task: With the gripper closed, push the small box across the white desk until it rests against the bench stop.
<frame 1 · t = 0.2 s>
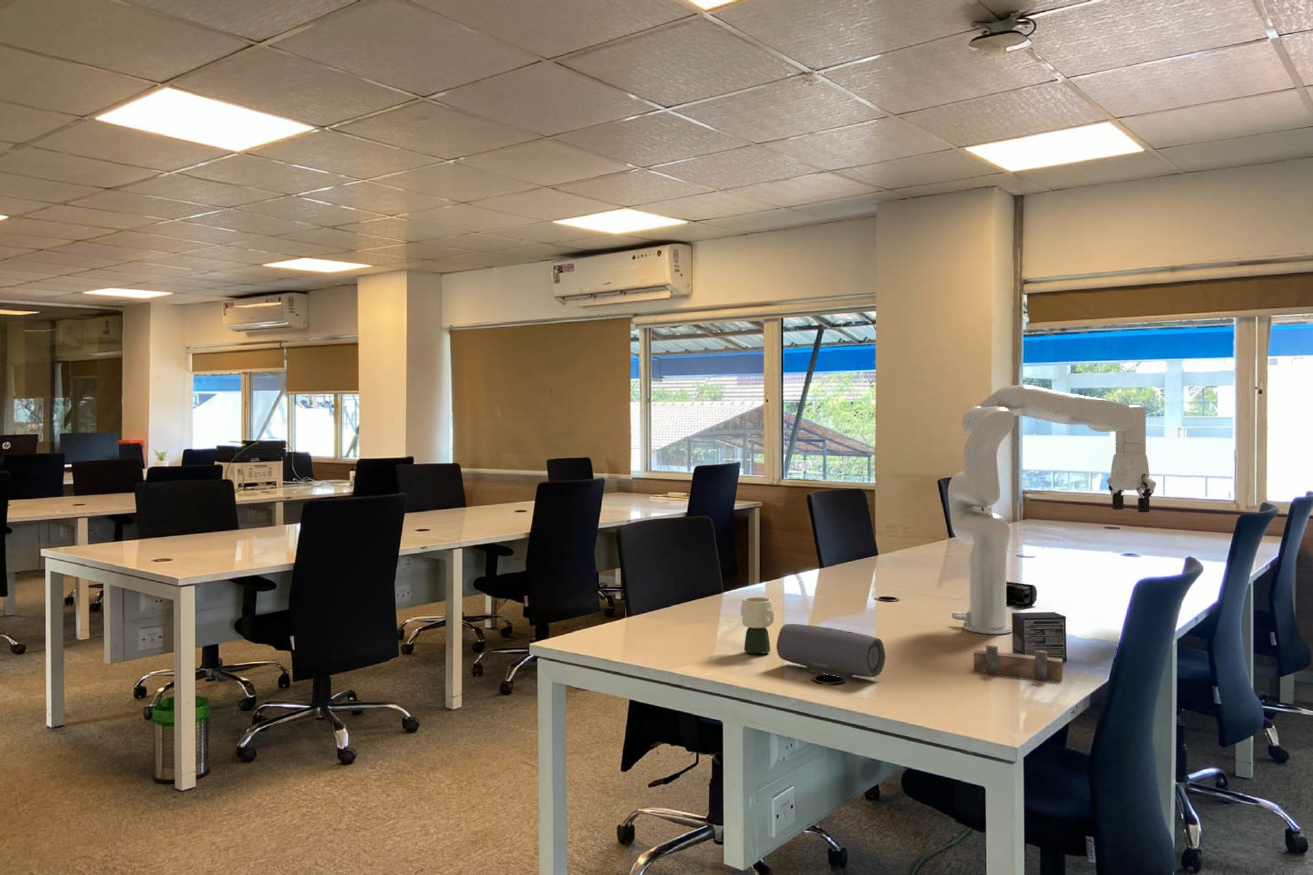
hand: (1130, 510, 254), 31 cm above the table, tool pointing down, fingers open, 9 cm apart
character mug: (757, 653, 219), on the table
bluetooth speaker: (829, 674, 201), on the table
bench stop: (1017, 673, 200), on the table
small box: (1039, 659, 213), on the table
end cap: (1016, 605, 279), on the table
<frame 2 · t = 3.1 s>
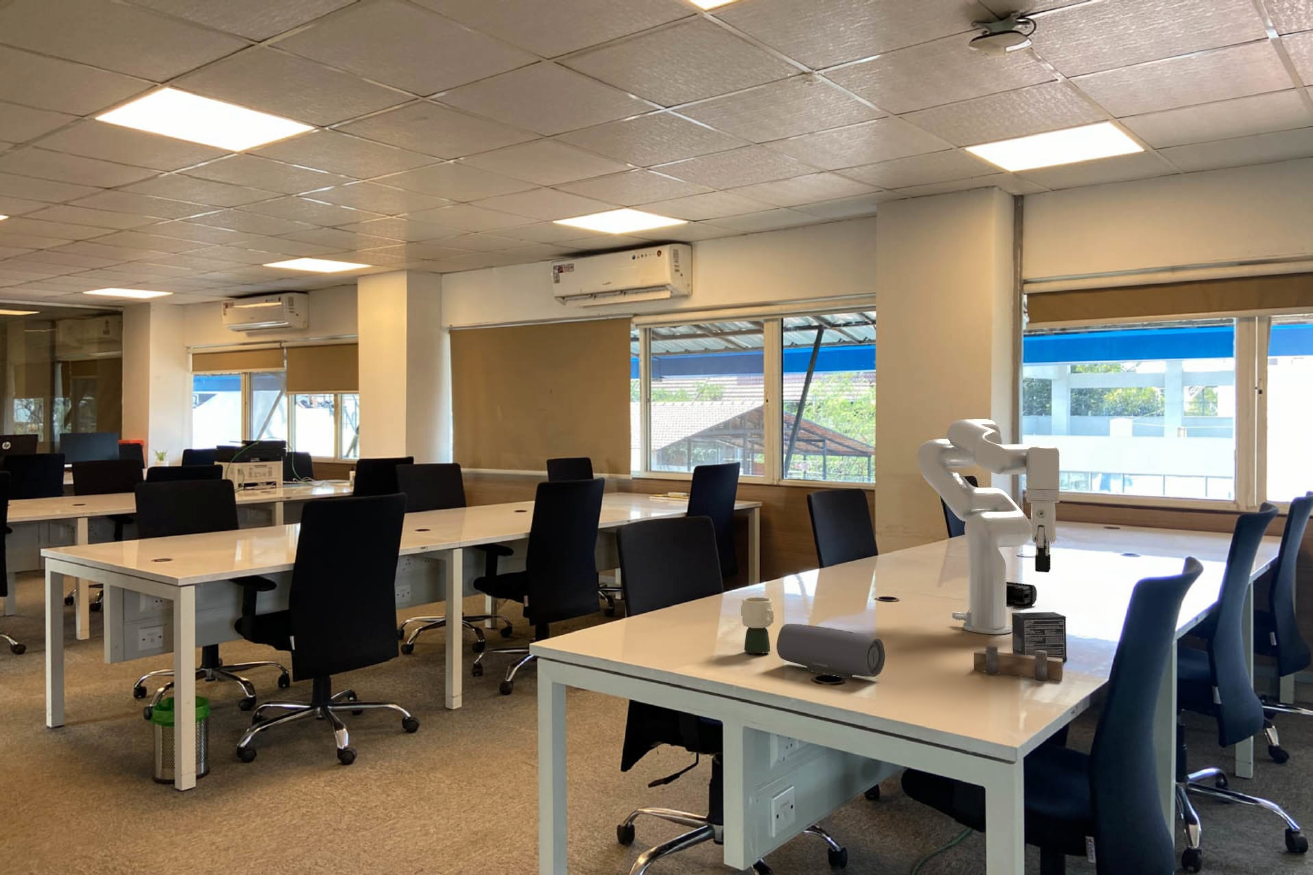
hand: (1042, 570, 223), 19 cm above the table, tool pointing down, fingers closed
nothing on the table moved.
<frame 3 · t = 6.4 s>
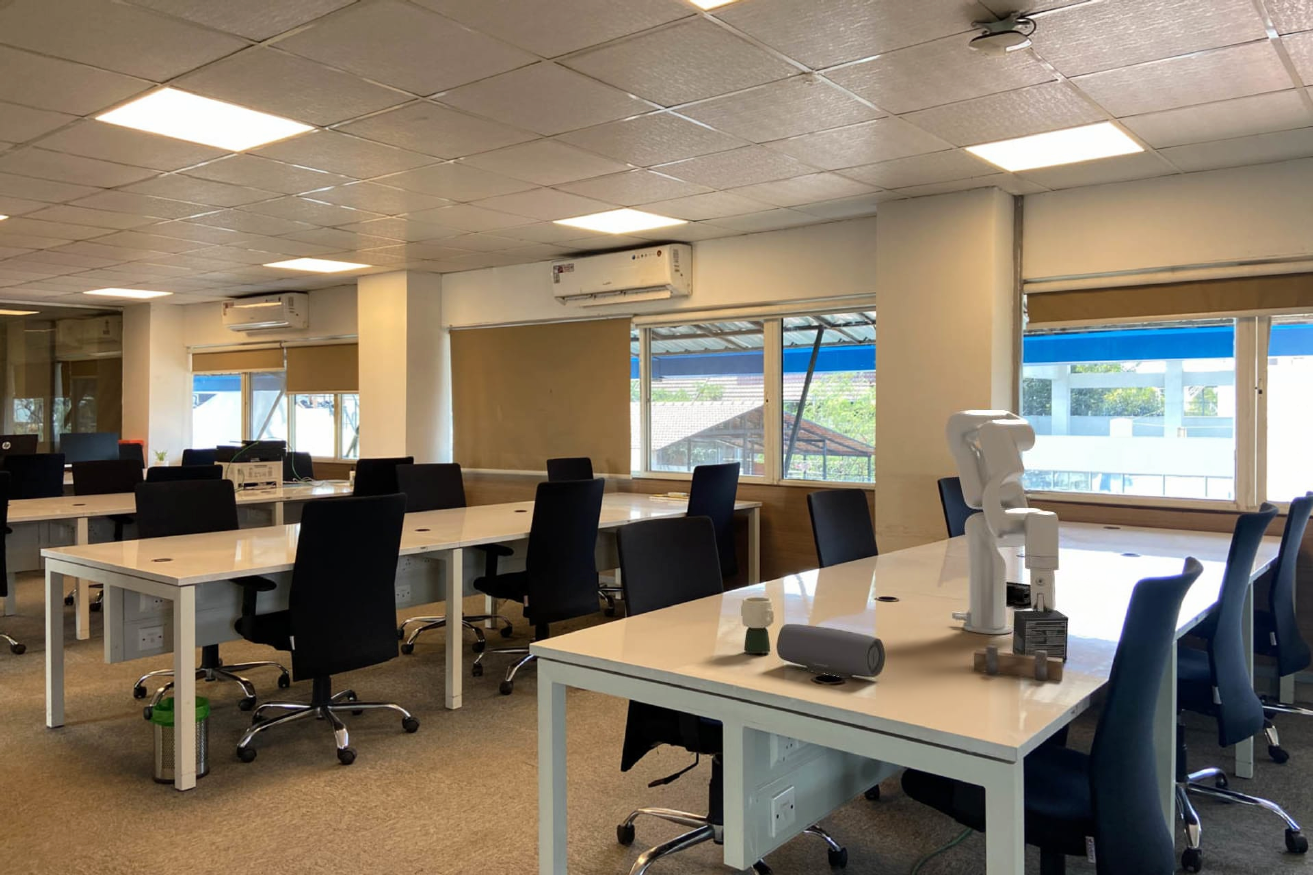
hand: (1042, 638, 218), 3 cm above the table, tool pointing down, fingers closed
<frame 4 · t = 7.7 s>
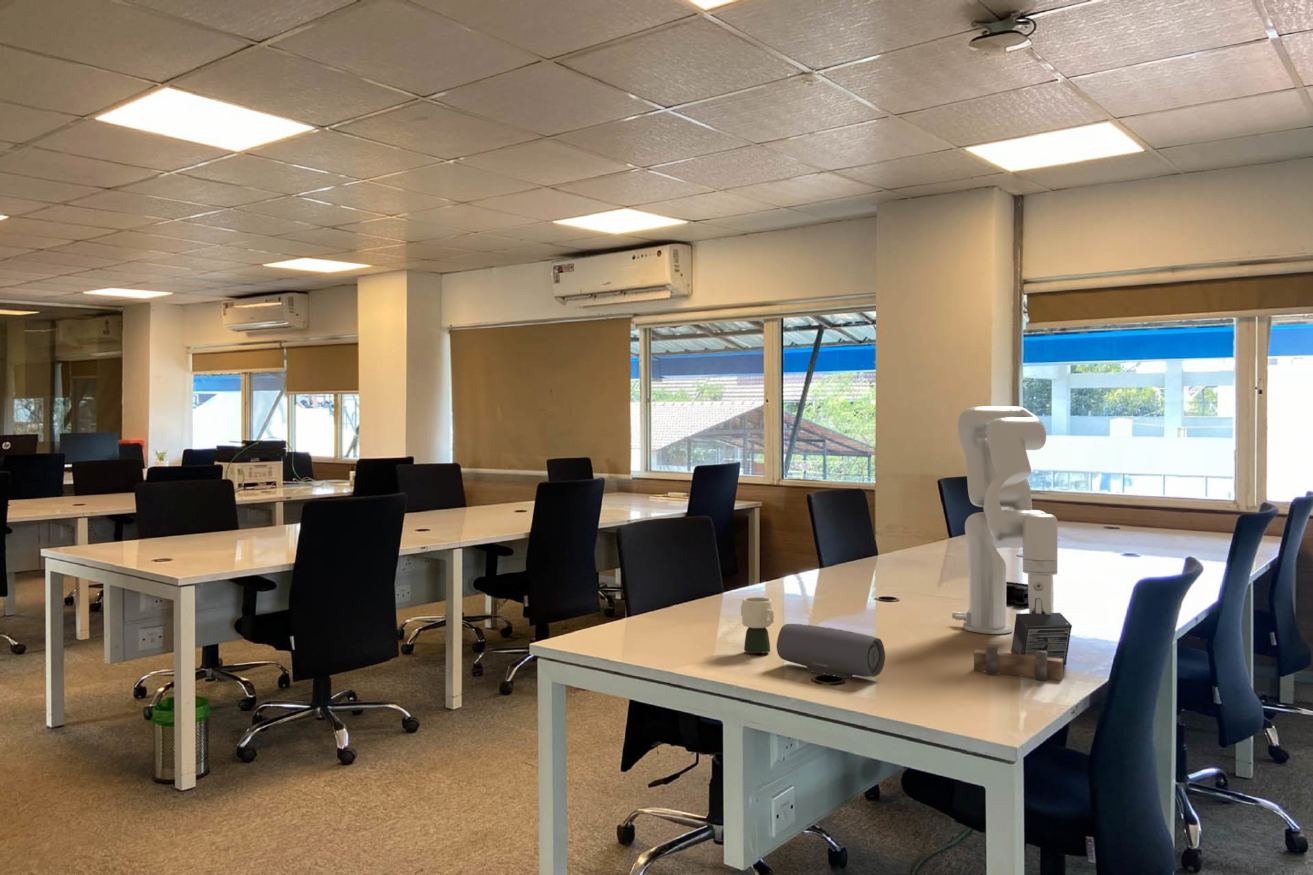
hand: (1039, 644, 212), 3 cm above the table, tool pointing down, fingers closed
small box: (1037, 659, 209), point 1 cm above the table, touching gripper
everything else where it was.
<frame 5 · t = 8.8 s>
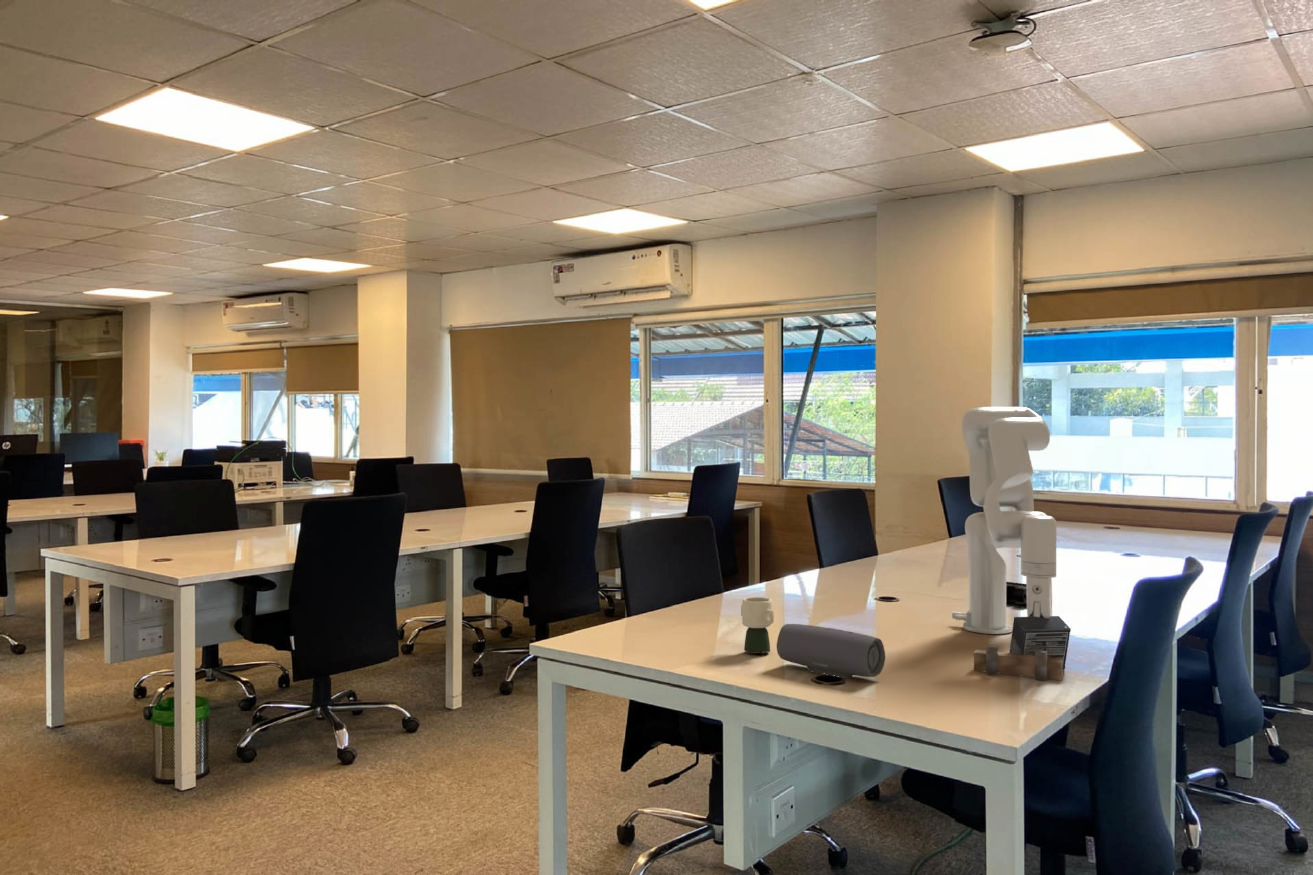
hand: (1038, 648, 209), 3 cm above the table, tool pointing down, fingers closed
small box: (1035, 663, 205), point 1 cm above the table, touching bench stop, gripper
everything else where it was.
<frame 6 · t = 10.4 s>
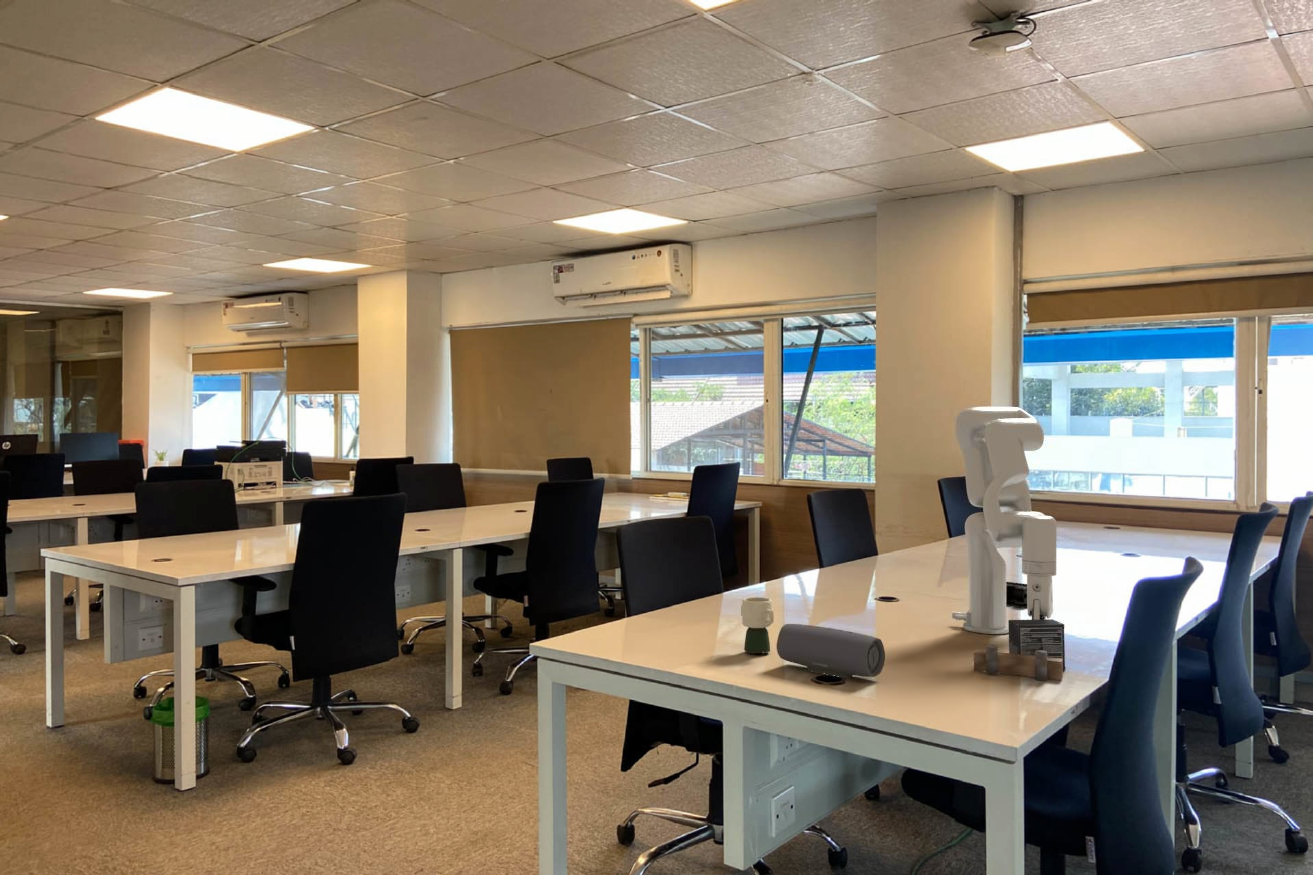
hand: (1038, 644, 215), 3 cm above the table, tool pointing down, fingers closed
small box: (1036, 668, 205), on the table
everything else where it was.
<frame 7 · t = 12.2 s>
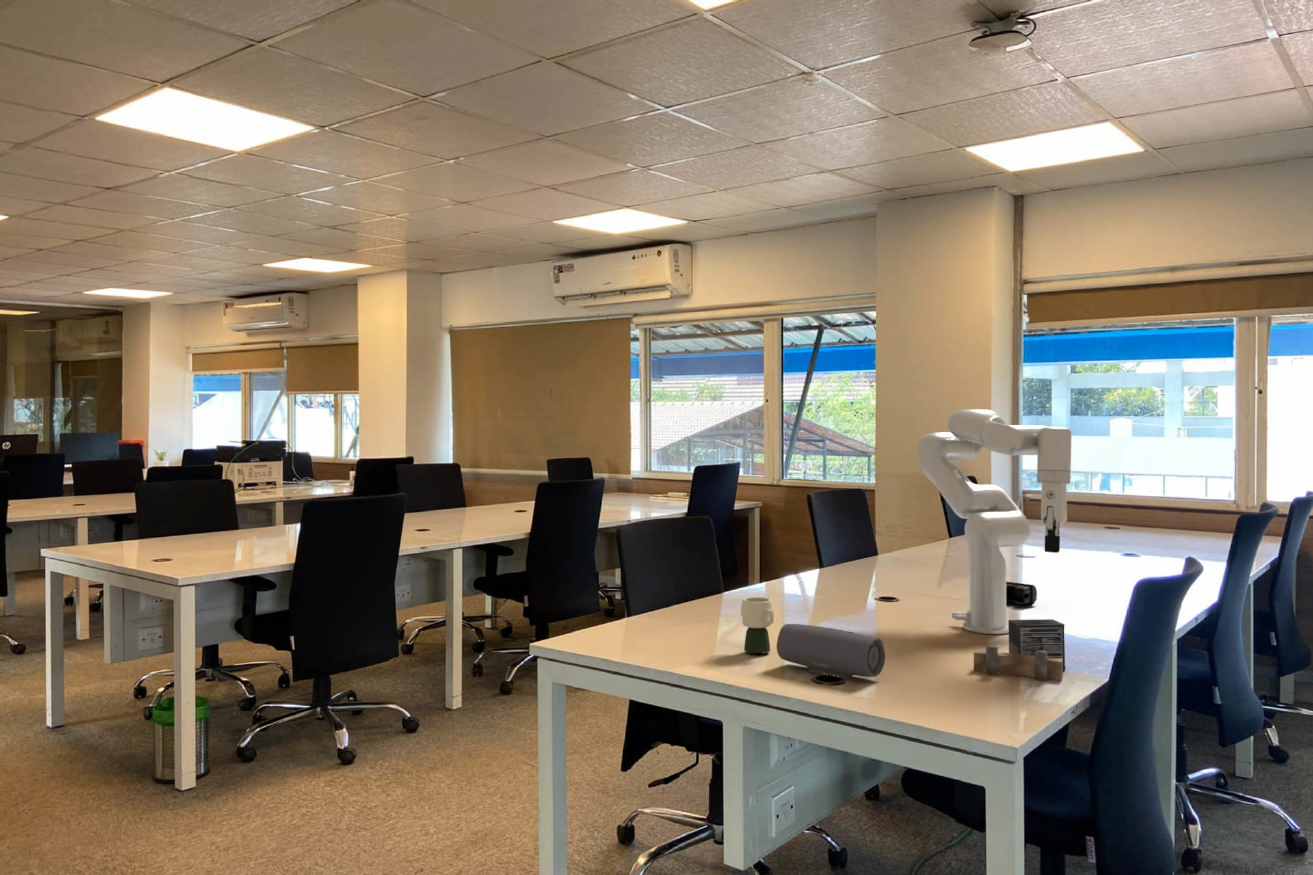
hand: (1052, 551, 222), 24 cm above the table, tool pointing down, fingers closed
nothing on the table moved.
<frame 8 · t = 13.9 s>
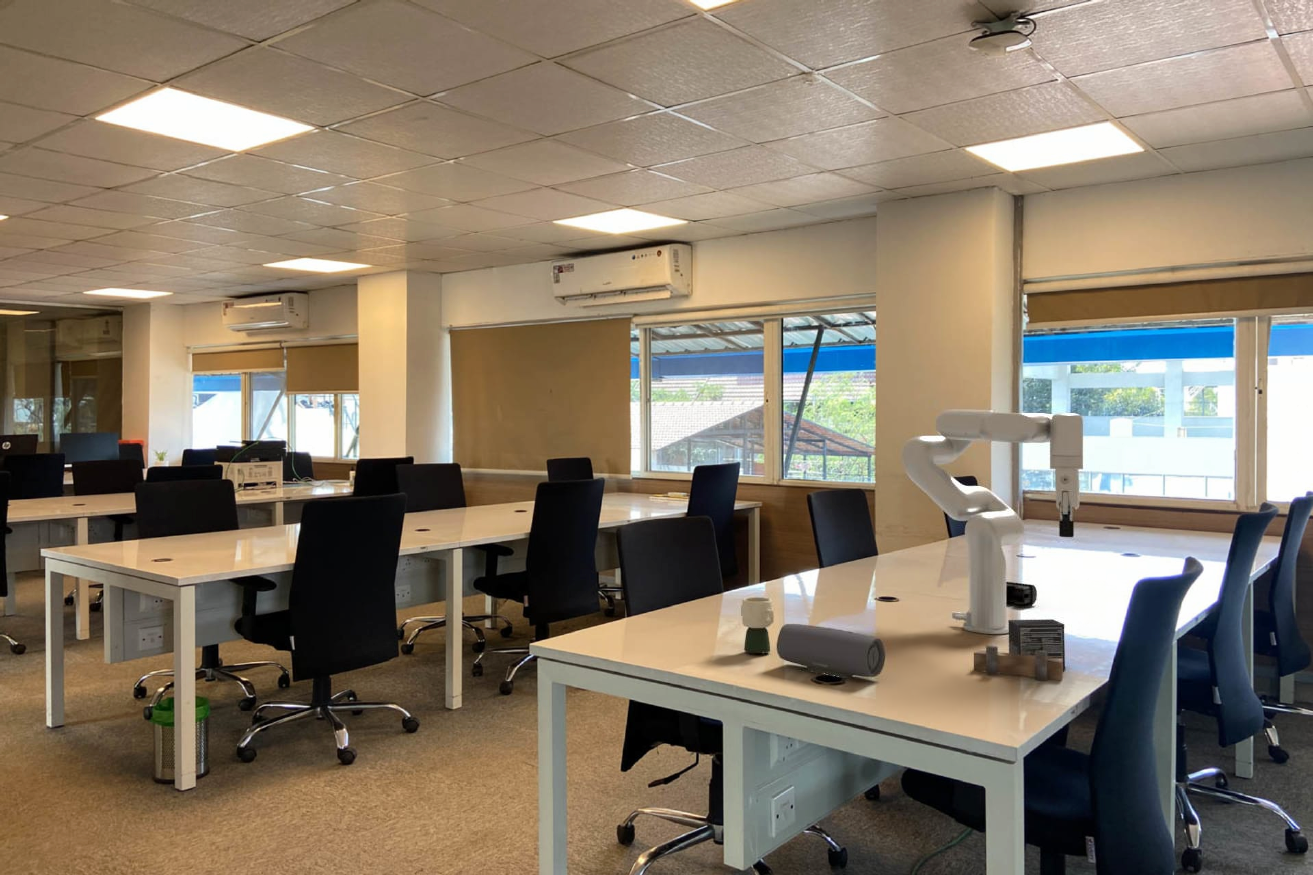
hand: (1066, 536, 226), 27 cm above the table, tool pointing down, fingers closed
nothing on the table moved.
at the end: small box inside the target area on the table beside the bench stop (2.1 cm from its centre), on the table; small box tilted 0°; small box moved 9.3 cm from its start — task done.
